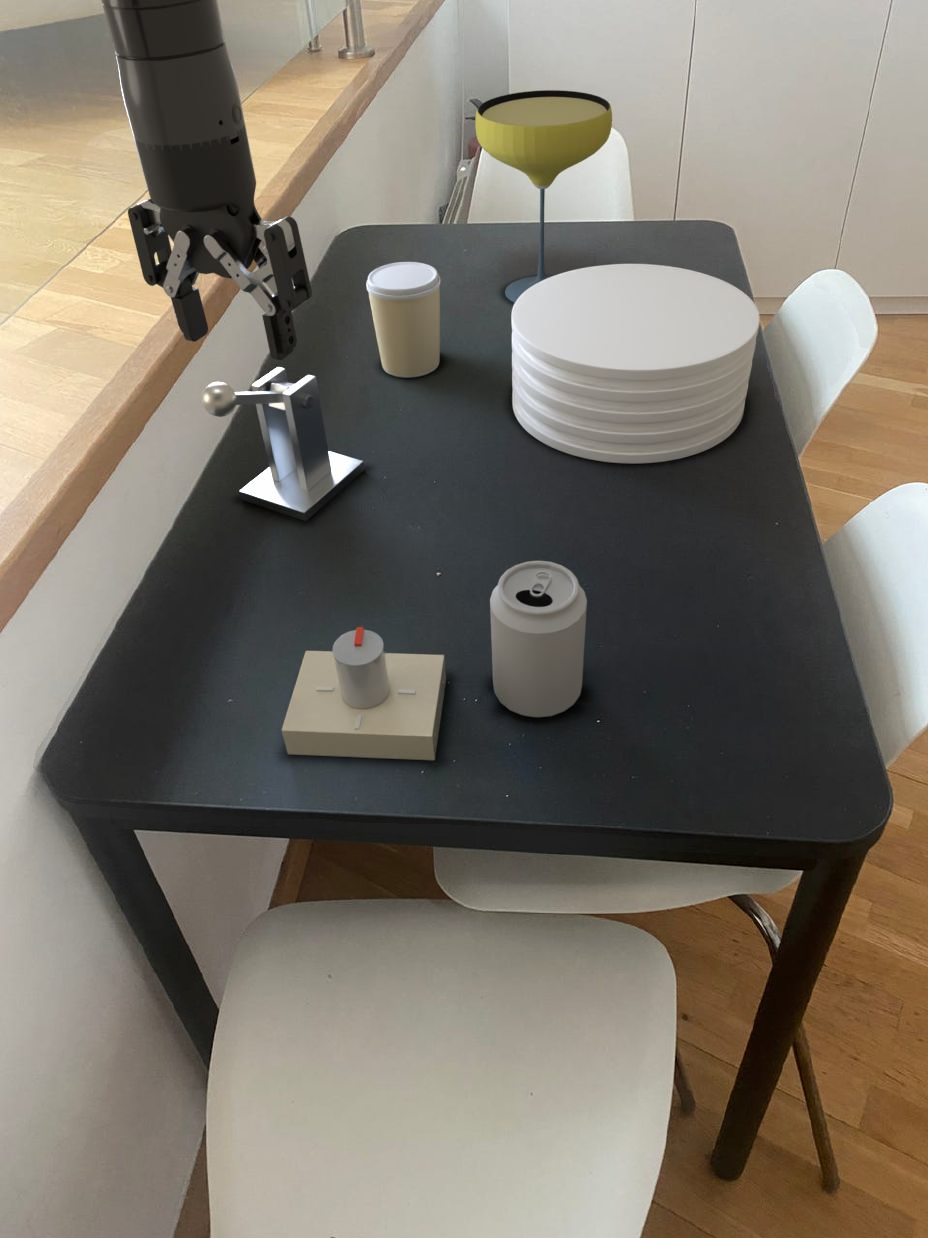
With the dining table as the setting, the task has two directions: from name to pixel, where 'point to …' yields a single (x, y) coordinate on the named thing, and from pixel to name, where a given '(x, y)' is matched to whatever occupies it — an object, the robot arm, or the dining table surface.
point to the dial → (361, 668)
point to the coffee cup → (406, 317)
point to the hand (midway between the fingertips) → (239, 346)
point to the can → (538, 638)
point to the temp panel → (367, 711)
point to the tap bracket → (297, 453)
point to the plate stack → (632, 361)
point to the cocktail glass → (542, 142)
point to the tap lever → (240, 397)
